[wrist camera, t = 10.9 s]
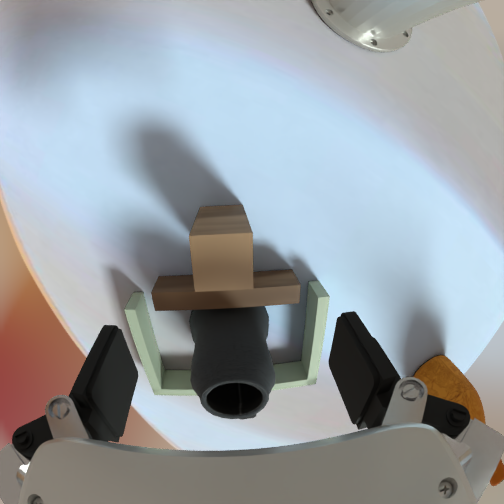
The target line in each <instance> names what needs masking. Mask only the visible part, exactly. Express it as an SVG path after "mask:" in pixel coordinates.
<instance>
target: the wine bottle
mask: <svg viewBox="0 0 504 504" xmlns="http://www.w3.org/2000/svg"><path fill="white" fill-rule="evenodd" d="M413 377H415V378H417V379H420V380H421V381H422V382H423V383H424V384H425V385H426V387H427V390H428V394H429V395H432V396H435V397H439V398H442V399H445V400H448V401H452V402H455V403H459V404H461V405H463V406H465V407H466V408H467V409H468V411H469V413H470V419H472V420H473V419H474V418H476V419H477V420H479V421H481V422H482V423H484V424H485V416H484V410H483V406H482V403H481V400H480V397H479V395H478V393H477V391H476V390H475V388H474V387H473V385H472V384H471V383H470V382H469V381H468V379H467V378H466V377H465V376H464V375H463V373H462V372H461V371H460V370H459V369H458V368H457V367H456V366H455V365H454V364H453V363H452V362H451V361H450V360H449V359H448V358H447V357H446V356H443V355H439V356H436V357H434V358H432V359H430V360H428V361H427V362H426V363H425V364H423V365H422V366H421V367H420V368H419V369H418V370H417V372H416V373H415V374H414V376H413ZM503 480H504V465H503V463H502V460H501V459H500V461H499V463H498V465H497V468H496V470H495V472H494V474H493V476H492V478H491V480H490V483H491V485H492V486H496V485H497V484H499V483H500V482H502V481H503Z"/></svg>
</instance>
